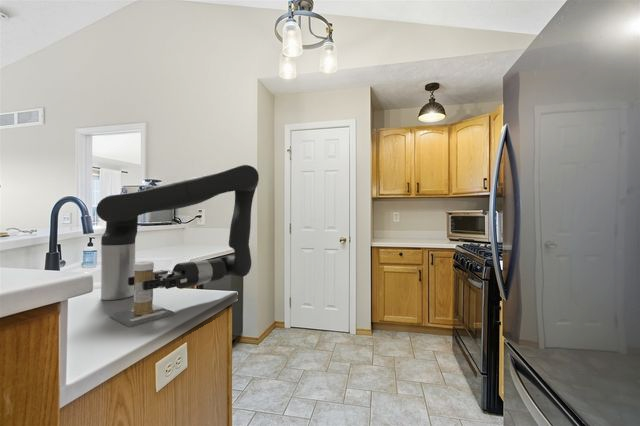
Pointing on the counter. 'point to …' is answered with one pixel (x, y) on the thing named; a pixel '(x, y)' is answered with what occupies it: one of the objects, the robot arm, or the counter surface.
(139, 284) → the spice jar
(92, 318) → the counter surface
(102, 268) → the robot arm
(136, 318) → the letter mat
